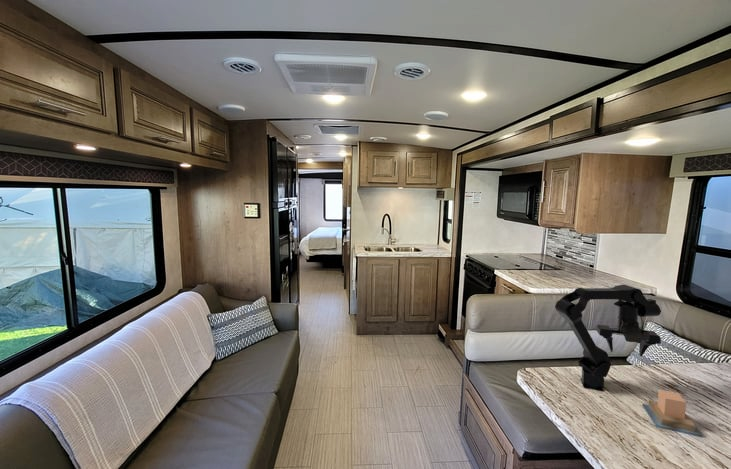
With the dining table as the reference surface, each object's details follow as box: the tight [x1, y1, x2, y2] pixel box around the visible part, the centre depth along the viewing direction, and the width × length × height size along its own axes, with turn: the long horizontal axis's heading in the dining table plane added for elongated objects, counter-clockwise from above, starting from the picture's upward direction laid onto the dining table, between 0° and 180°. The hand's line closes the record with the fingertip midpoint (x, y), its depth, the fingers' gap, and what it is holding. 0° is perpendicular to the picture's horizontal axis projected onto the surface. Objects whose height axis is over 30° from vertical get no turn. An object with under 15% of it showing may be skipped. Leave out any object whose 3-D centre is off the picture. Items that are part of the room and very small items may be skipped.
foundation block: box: [641, 399, 703, 438], centre depth 99 cm, size 11×11×3 cm
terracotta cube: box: [657, 389, 687, 419], centre depth 99 cm, size 5×5×6 cm
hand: (625, 353), depth 118 cm, fingers open, 9 cm apart
